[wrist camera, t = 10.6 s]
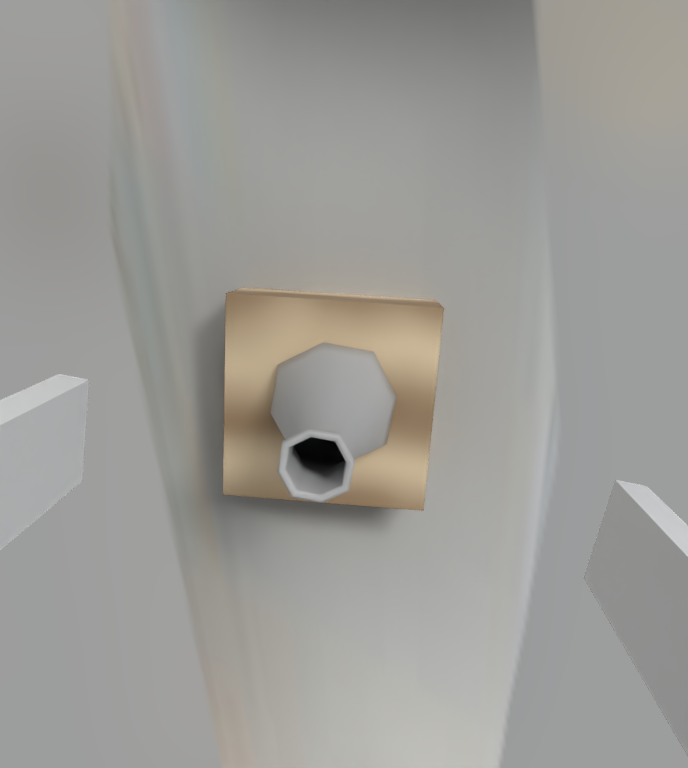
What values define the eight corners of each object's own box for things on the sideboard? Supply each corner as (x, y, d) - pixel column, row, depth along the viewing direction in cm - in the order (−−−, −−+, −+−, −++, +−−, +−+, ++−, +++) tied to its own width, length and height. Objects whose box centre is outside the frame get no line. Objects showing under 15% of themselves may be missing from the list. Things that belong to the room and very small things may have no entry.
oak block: (245, 286, 38) (225, 293, 33) (435, 299, 37) (443, 307, 32) (241, 464, 40) (222, 494, 36) (417, 478, 40) (423, 510, 35)
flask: (260, 350, 33) (212, 393, 24) (388, 332, 33) (392, 369, 23) (281, 469, 35) (245, 556, 25) (404, 455, 34) (414, 538, 25)
